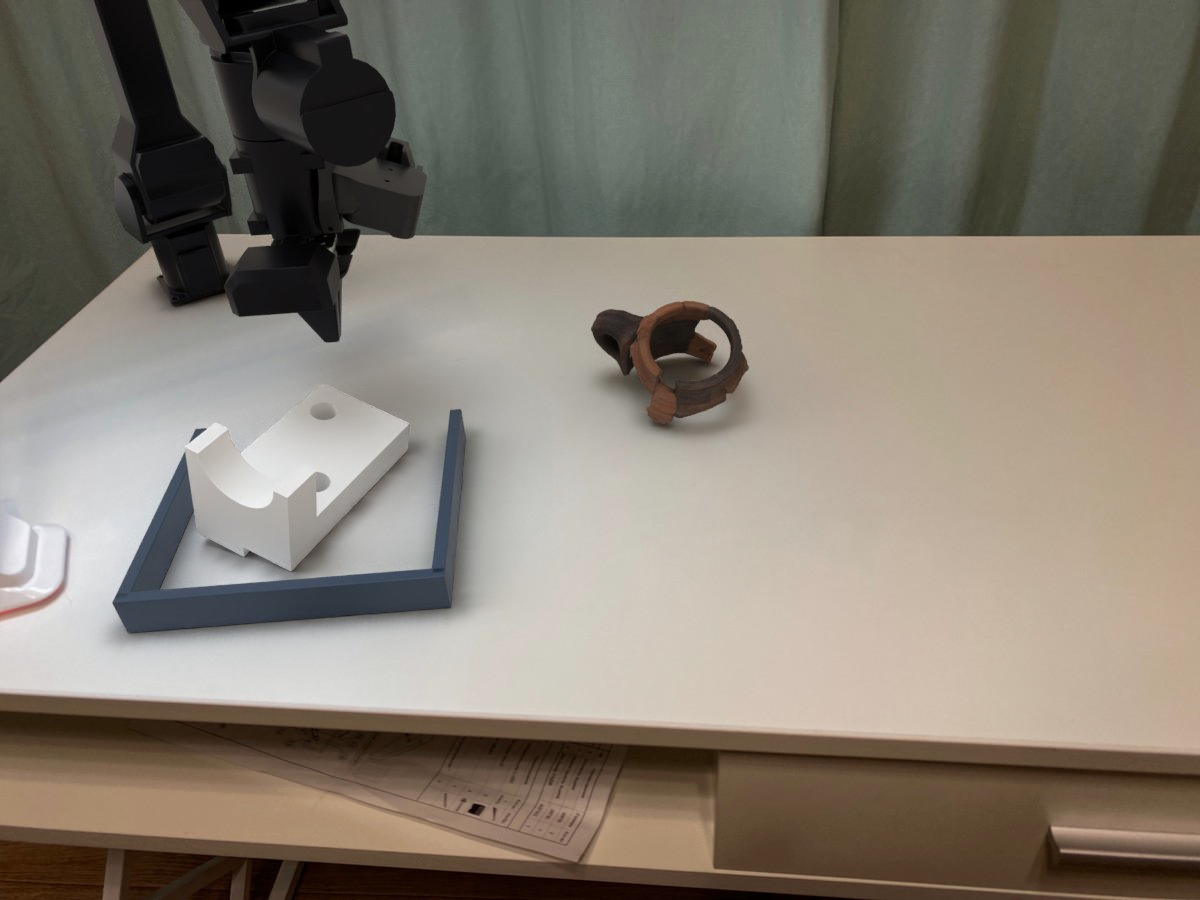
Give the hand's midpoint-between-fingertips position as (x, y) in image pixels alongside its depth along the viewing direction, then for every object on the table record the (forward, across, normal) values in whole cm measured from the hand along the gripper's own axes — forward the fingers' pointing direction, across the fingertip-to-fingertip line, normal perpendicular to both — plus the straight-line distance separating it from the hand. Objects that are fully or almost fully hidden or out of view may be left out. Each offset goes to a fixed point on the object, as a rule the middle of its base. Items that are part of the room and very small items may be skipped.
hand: (333, 339), depth 69 cm
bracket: (+6, -12, 0) cm, 13 cm away
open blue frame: (+5, -14, 0) cm, 15 cm away
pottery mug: (+6, -2, -24) cm, 25 cm away
